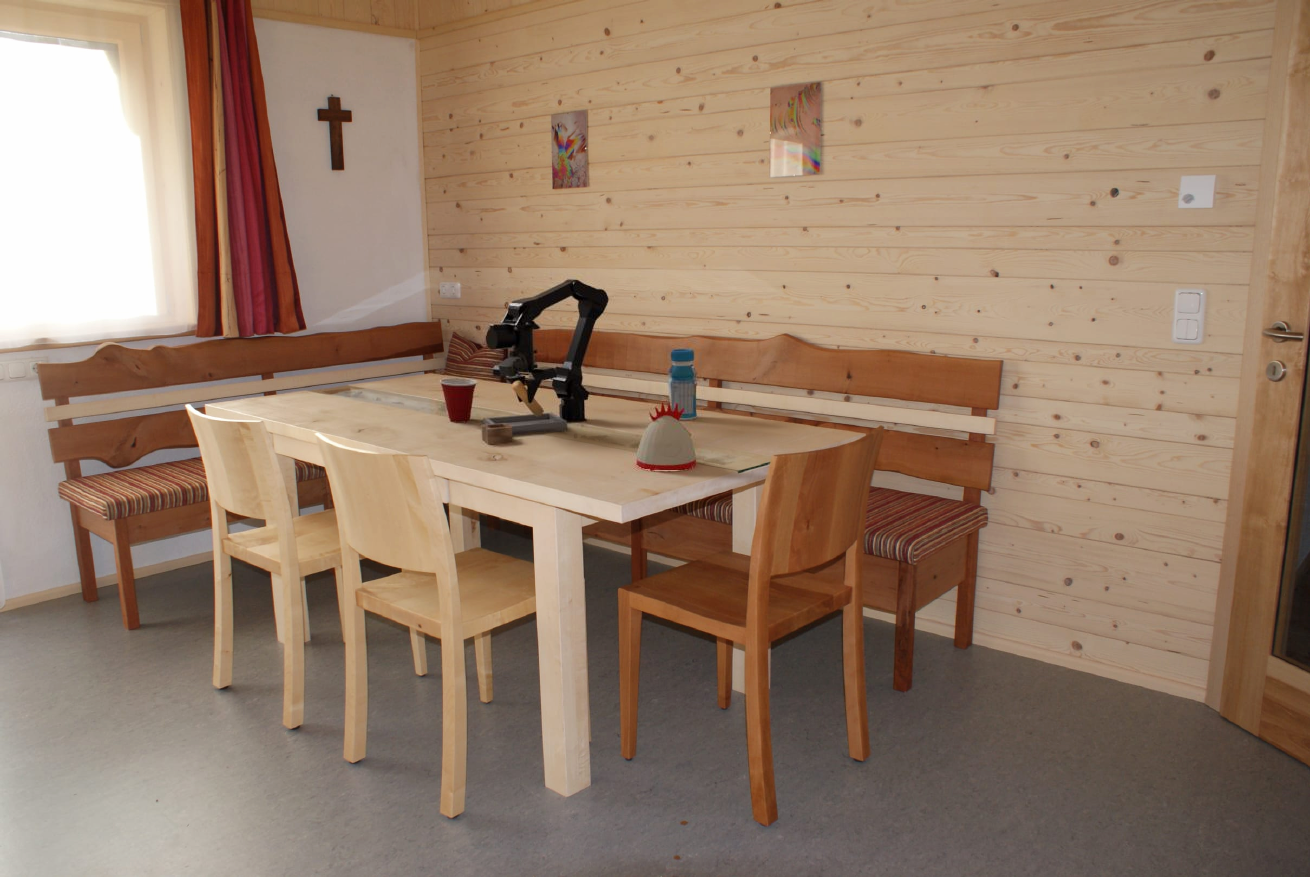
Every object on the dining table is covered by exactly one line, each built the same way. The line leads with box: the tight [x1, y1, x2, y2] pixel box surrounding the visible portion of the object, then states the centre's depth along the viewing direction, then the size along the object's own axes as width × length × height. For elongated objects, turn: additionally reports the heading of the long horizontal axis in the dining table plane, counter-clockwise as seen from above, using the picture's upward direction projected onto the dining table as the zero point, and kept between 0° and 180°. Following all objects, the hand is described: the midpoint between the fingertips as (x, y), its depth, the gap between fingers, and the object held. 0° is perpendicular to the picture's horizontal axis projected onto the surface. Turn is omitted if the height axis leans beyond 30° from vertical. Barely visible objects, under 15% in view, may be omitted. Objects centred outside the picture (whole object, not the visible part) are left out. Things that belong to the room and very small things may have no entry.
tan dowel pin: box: [511, 381, 545, 417], centre depth 272 cm, size 3×3×13 cm
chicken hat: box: [636, 401, 697, 471], centre depth 227 cm, size 14×14×15 cm
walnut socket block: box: [481, 423, 514, 445], centre depth 256 cm, size 7×7×4 cm
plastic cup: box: [439, 377, 478, 423], centre depth 284 cm, size 11×11×12 cm
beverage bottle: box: [667, 348, 698, 421], centre depth 283 cm, size 8×8×20 cm
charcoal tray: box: [482, 412, 568, 436], centre depth 272 cm, size 20×15×2 cm
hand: (525, 402), depth 271 cm, fingers closed on tan dowel pin, 3 cm apart
